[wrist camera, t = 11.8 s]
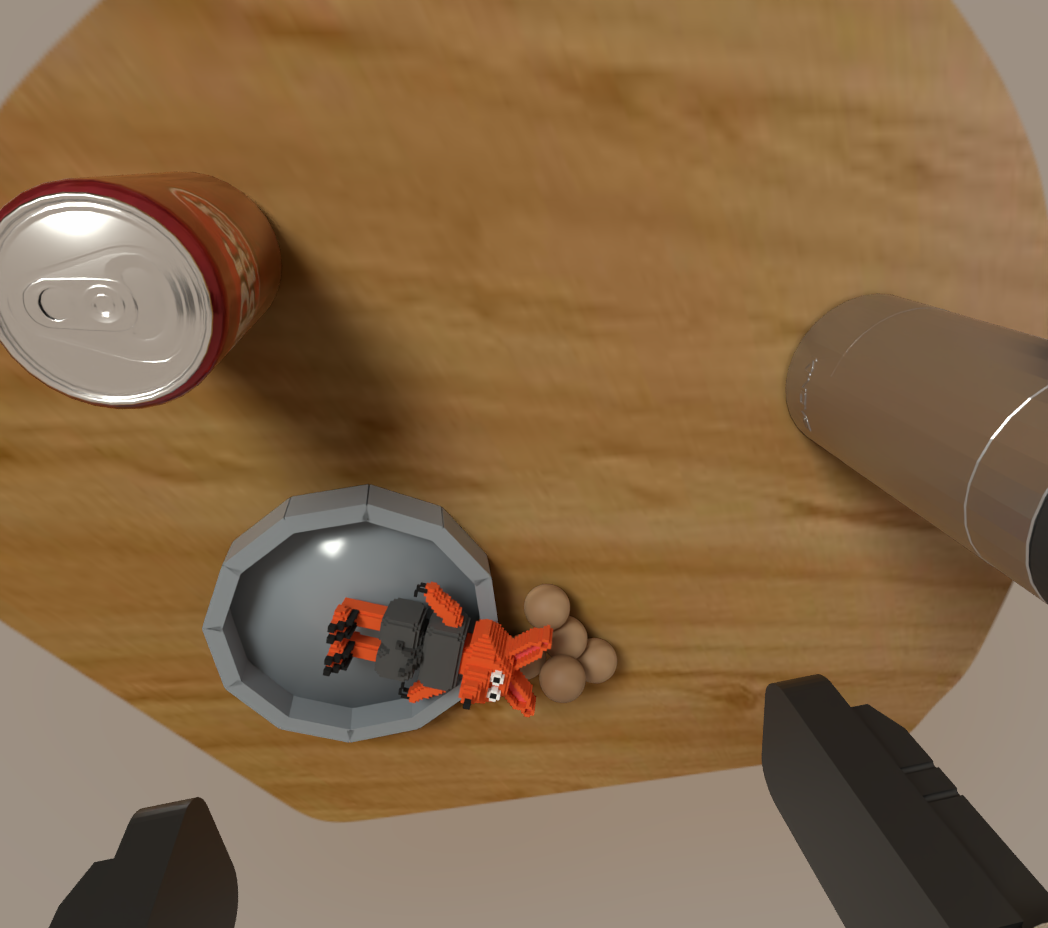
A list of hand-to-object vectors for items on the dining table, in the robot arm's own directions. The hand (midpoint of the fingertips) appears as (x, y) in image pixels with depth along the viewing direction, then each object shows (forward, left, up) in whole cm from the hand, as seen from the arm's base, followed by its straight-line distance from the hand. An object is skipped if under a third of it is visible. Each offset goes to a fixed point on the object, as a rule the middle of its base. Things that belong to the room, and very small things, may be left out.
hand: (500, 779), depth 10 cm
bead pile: (-5, +20, -28) cm, 35 cm away
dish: (+7, +16, -28) cm, 33 cm away
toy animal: (+9, +16, -25) cm, 31 cm away
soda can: (+10, -5, -28) cm, 30 cm away
